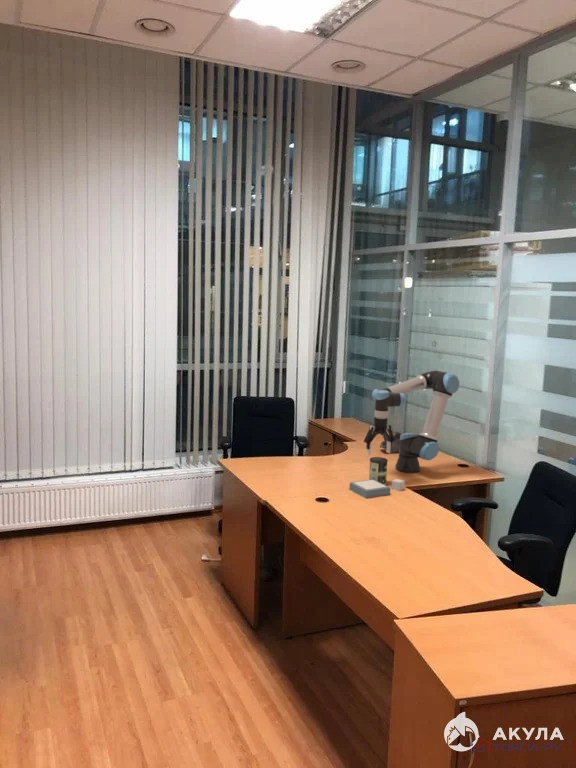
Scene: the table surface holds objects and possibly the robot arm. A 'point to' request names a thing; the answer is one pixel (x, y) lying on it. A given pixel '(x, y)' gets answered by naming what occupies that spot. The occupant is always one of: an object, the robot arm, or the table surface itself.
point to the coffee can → (378, 469)
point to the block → (398, 484)
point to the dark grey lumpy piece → (394, 444)
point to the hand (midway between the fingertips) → (378, 453)
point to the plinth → (369, 488)
